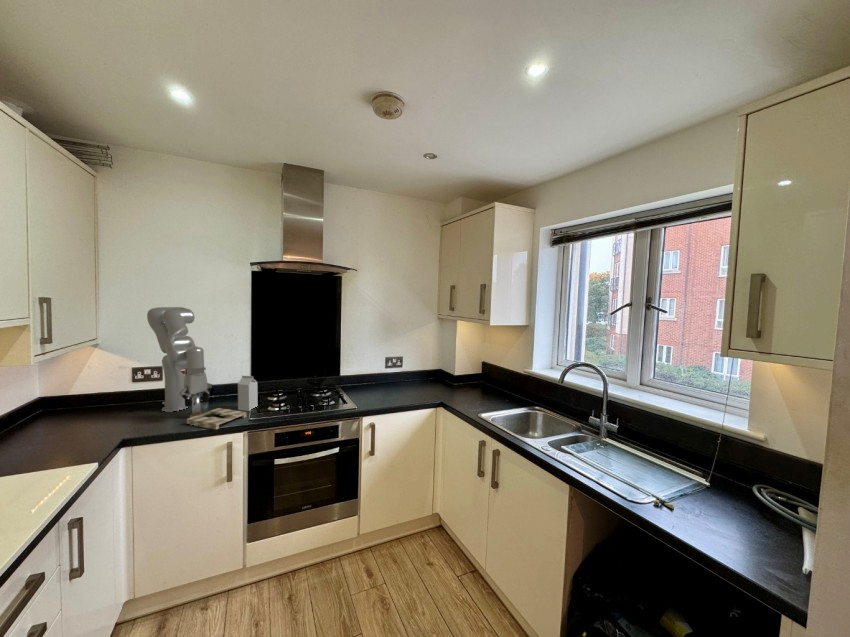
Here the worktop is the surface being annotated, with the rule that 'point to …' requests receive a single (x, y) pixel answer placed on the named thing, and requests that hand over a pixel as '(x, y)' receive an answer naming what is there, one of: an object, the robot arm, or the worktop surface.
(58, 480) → the worktop surface
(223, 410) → the keyhole plate
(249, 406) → the milk carton
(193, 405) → the peg
